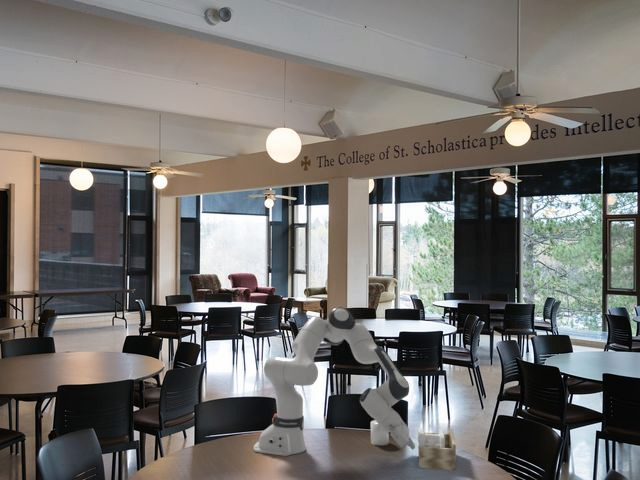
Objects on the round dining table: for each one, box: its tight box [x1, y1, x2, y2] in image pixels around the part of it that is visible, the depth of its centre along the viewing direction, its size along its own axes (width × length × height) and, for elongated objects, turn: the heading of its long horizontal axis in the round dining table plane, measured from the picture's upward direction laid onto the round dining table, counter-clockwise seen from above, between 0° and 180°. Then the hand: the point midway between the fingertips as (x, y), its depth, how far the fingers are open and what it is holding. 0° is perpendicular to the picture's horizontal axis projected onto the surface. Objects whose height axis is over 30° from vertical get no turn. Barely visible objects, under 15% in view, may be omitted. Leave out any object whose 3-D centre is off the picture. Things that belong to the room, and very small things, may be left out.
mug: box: [370, 419, 390, 446], centre depth 274 cm, size 8×11×9 cm
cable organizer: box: [417, 427, 445, 455], centre depth 251 cm, size 15×11×12 cm
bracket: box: [418, 428, 457, 471], centre depth 251 cm, size 14×20×10 cm
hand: (414, 447), depth 252 cm, fingers closed
